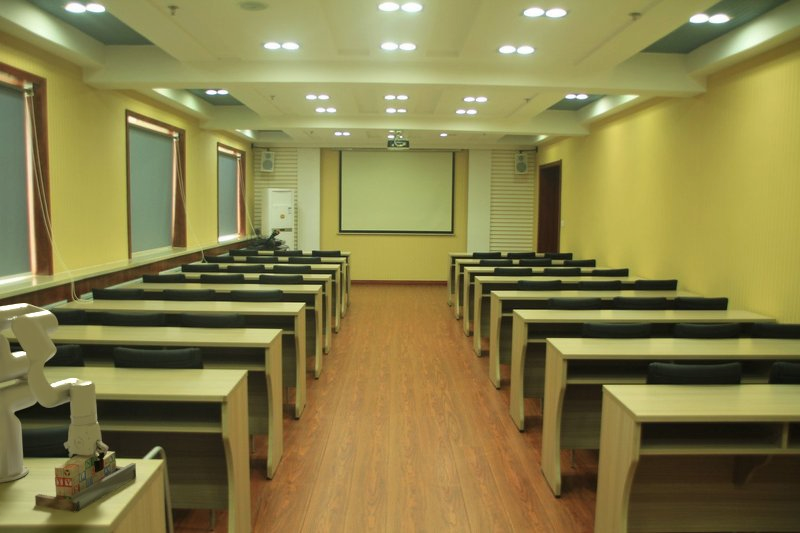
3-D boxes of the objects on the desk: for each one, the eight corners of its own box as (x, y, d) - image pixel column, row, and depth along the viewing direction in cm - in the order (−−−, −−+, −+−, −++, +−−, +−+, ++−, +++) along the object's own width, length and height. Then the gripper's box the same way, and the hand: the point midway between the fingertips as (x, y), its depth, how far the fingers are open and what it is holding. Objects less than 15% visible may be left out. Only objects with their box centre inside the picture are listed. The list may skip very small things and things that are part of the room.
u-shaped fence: (35, 505, 192) (34, 489, 192) (98, 471, 217) (98, 457, 217) (76, 512, 188) (75, 496, 187) (136, 477, 213) (135, 463, 212)
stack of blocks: (101, 476, 214) (99, 442, 213) (117, 477, 213) (115, 443, 212) (56, 504, 193) (54, 466, 192) (73, 506, 192) (71, 468, 191)
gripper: (54, 420, 199) (57, 471, 201) (96, 424, 194) (99, 476, 196) (72, 413, 207) (75, 462, 208) (114, 417, 202) (117, 467, 203)
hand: (87, 469), depth 202 cm, fingers open, 9 cm apart
